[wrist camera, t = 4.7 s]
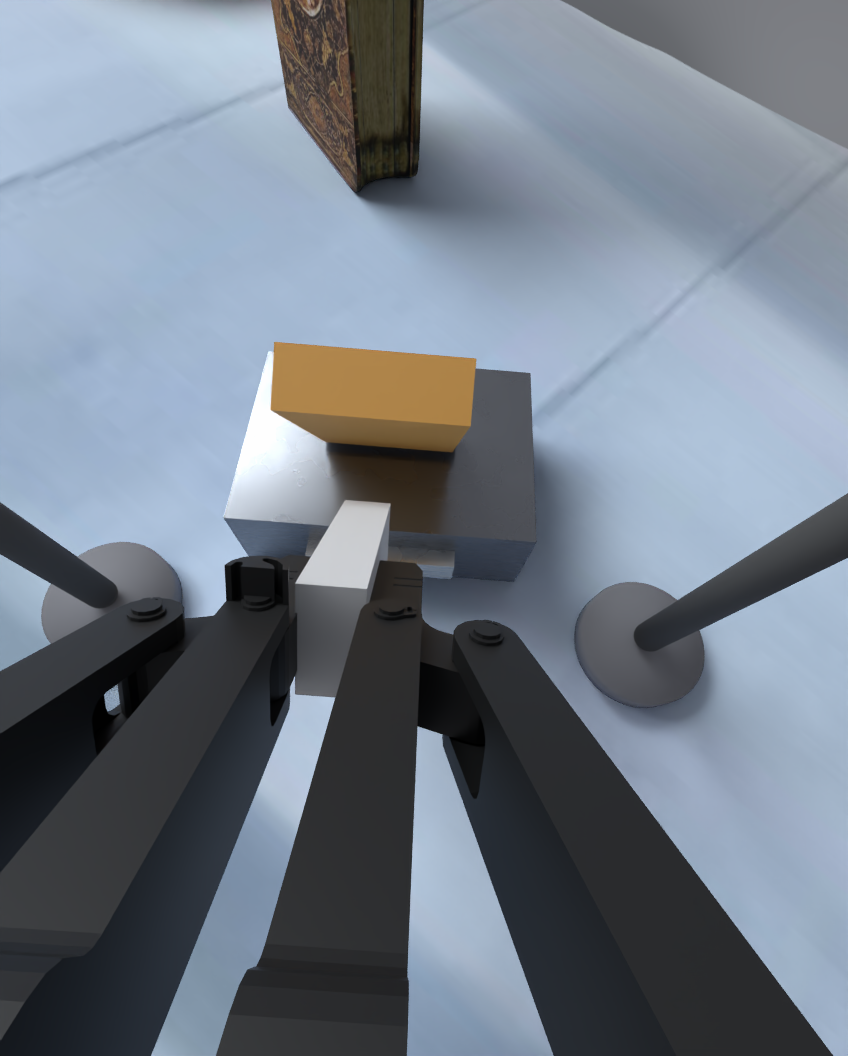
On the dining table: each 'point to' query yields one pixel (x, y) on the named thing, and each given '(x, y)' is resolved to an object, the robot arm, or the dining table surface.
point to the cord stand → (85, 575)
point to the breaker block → (397, 486)
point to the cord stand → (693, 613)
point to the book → (355, 81)
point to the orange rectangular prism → (374, 395)
